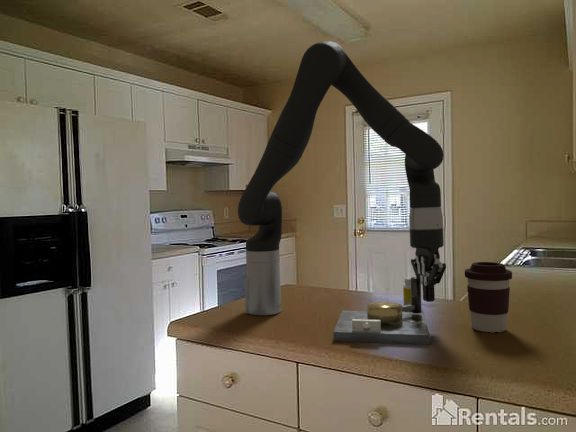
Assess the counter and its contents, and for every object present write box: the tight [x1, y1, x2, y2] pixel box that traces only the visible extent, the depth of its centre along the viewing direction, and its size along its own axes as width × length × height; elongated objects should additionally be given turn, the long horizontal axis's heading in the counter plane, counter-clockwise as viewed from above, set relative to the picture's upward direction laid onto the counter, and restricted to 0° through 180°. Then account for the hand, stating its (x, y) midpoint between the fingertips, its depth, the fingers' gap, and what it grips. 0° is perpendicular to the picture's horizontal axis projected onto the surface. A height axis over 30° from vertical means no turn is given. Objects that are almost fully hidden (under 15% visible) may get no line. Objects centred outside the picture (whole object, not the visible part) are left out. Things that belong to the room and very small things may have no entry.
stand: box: [333, 310, 431, 346], centre depth 106 cm, size 20×19×4 cm
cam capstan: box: [366, 276, 422, 323], centre depth 108 cm, size 15×8×8 cm, turn 119°
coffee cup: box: [464, 261, 513, 334], centre depth 105 cm, size 10×10×15 cm
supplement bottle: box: [402, 276, 412, 306], centre depth 126 cm, size 5×5×8 cm
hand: (428, 300), depth 107 cm, fingers closed
